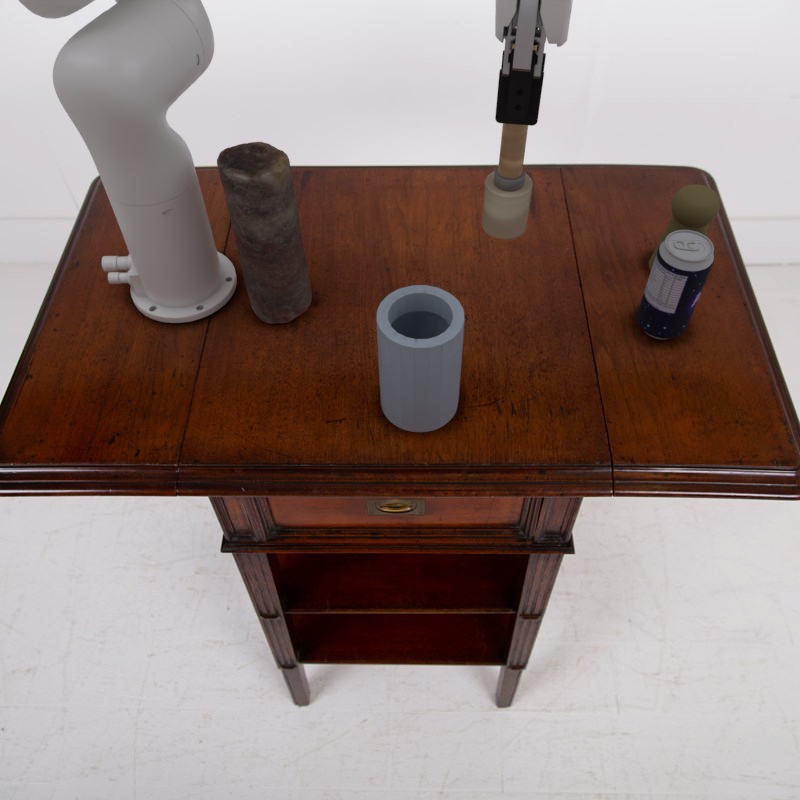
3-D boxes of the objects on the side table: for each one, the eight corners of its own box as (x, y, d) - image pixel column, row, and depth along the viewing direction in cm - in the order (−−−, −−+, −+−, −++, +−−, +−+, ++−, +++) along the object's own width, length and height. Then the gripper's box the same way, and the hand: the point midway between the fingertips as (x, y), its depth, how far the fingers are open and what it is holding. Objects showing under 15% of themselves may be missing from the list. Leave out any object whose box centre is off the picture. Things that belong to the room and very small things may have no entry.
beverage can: (685, 347, 85) (719, 266, 76) (634, 340, 86) (661, 259, 76) (684, 312, 89) (716, 230, 79) (634, 305, 89) (660, 224, 80)
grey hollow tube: (380, 433, 78) (376, 348, 68) (381, 373, 83) (376, 285, 73) (460, 431, 78) (467, 346, 68) (455, 371, 83) (461, 284, 73)
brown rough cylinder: (244, 290, 92) (209, 144, 76) (302, 275, 93) (280, 128, 78) (259, 332, 87) (225, 186, 72) (320, 316, 89) (300, 169, 73)
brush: (525, 241, 66) (551, 56, 53) (479, 237, 66) (494, 52, 54) (528, 213, 68) (554, 29, 56) (483, 209, 69) (499, 26, 56)
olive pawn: (645, 277, 92) (669, 203, 84) (651, 246, 96) (675, 172, 87) (696, 288, 91) (726, 213, 82) (700, 256, 95) (729, 182, 86)
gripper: (616, -126, 39) (562, 177, 54) (614, -211, 49) (569, 64, 63) (471, -132, 40) (457, 168, 55) (498, -214, 50) (479, 58, 64)
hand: (517, 110), depth 59 cm, fingers closed on brush, 2 cm apart
